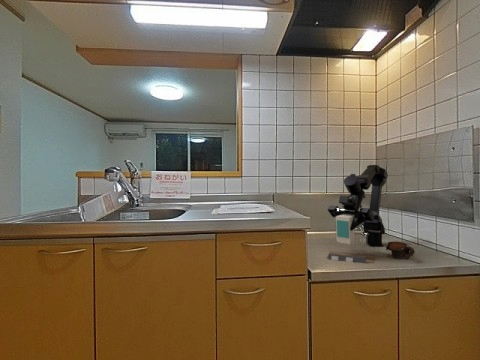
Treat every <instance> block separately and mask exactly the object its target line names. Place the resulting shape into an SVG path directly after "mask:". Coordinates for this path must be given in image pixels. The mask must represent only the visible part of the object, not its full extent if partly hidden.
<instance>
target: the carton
mask: <svg viewBox="0 0 480 360" xmlns="http://www.w3.org/2000/svg"><path fill="white" fill-rule="evenodd" d="M353 220H354V215H346V214H342V215H339V216H336V217H335V230H336V233H335V234H336V243H341V244H345V245H346V244H347V245H352V244H354V243H355V242H356V241H355V240H356V239H355V238H356V237H355V236H356V234H355V229H353V230H352V231H351V230H350V227H351V225H352V222H353Z"/></svg>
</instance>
